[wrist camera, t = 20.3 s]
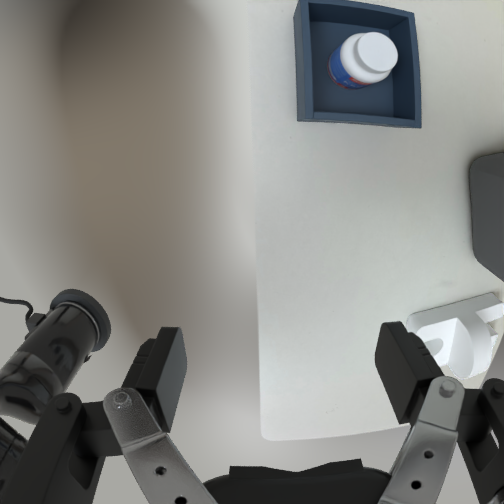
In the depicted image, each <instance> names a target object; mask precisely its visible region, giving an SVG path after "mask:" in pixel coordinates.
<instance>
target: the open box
mask: <svg viewBox="0 0 504 504" xmlns="http://www.w3.org/2000/svg"><path fill="white" fill-rule="evenodd" d="M293 19H294V38H295V60H296V88H297V121H303V122H333V123H350V124H364V125H376V126H387V127H397V128H421V83H420V66H419V53H418V43H417V33H416V25H415V17H414V13H412V12H407V11H404V10H399V9H395V8H390V7H385V6H380V5H374V4H368V3H362V2H356V1H349V0H299V1H298V4H297V7H296V10H295V13H294V17H293ZM369 32H377V33H381V34H383V35H385V36H387V37H388V38H389V39H390V40H391V41H392V42H393V43H394V45H395V47H396V49H397V53H398V59H397V62H396V64H395V66H394V67H393V68H392V69H391V71H390V73H389V75H388V76H387V77H386V78H385V79H383V80H381V81H379V82H377V83H374V84H371V85H368V86H366V87H363V88H360V89H356V90H349V89H345V88H342V87H340V86H338V85H337V84H336V83H335V82H334V81H333V80H332V79H331V78H330V76H329V74H328V70H327V62H328V59H329V57H330V55H331V54H332V53H333V52H334V51H335V50H336V49H337V48H338V47H339V46H340V45H341V44H342V43H343V42H344V41H345V40H346V39H348V38H349V37H350V36H352V35H354V34H358V33H369Z"/></svg>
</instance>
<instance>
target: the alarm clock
mask: <svg viewBox="0 0 504 504" xmlns="http://www.w3.org/2000/svg"><path fill="white" fill-rule="evenodd" d="M469 181H470V191H471V204H472V221H473V250H474V255H475V258H476V259H477V260H478V262H479V263H481V264H482V265H483V266H484V267H485V268H487V269H488V270H489V271H490V272H492V273H493V274H494V275H496V276H497V277H498V278H499V279H501V280H502V281H503V282H504V152H503V153H498V154H493V155H488V156H483V157H480V158H478V159H476V160H474V162H473V164H472V166H471V168H470V175H469Z"/></svg>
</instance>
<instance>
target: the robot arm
mask: <svg viewBox="0 0 504 504" xmlns="http://www.w3.org/2000/svg"><path fill="white" fill-rule="evenodd" d="M0 301H1V302H4V303H9V304H22V305H26V306H27V307H28V308H29V311H28V312H27V314H26V325H27V327H28V330H29V333H28V334H27V335H26V336H25V342H24V343H23V344H22V345H21V346H20V347H19V348H18V349H17V351H16V352H15V353H14V354H13V355H12V357H11V358H10V359H9V360H8V361H7V362H6V364H5V365H4V366H3V367H2V368H1V370H0V415H5V416H10V417H13V418H16V419H19V420H21V421H24V422H27V423H29V424H33V425H36V427H35V429H34V431H33V433H32V435H31V437H30V439H29V441H28V440H27V439H26V438H25V437H24V436H22V435H21V434H20V433H18V432H17V431H16V430H15V429H14V428H12V427H11V426H10V425H9V424H8V423H6V422H5V421H4V420H3V419H2V418H1V417H0V504H92V503H93V499H94V495H95V492H96V488H97V484H98V481H99V478H100V474H101V471H102V468H103V464H104V461H105V458H106V456H118V455H124V457H125V459H126V461H127V463H128V465H129V467H130V469H131V471H132V473H133V475H134V477H135V479H136V481H137V483H138V485H139V486H140V488H141V490H142V492H143V493H144V495H145V497H146V499H147V500H148V502H149V504H435V503H436V501H437V498H438V496H439V493H440V491H441V488H442V485H443V483H444V480H445V477H446V474H447V471H448V468H449V465H450V462H451V459H452V456H453V452H454V449H455V446H456V442H457V443H458V445H459V448H460V450H461V453H462V456H463V458H464V461H465V463H466V466H467V469H468V471H469V474H470V477H471V480H472V482H473V485H474V488H475V491H476V494H477V497H478V500H479V503H480V504H504V381H503V380H500V379H497V378H492V379H489V380H487V381H486V382H485V383H484V384H483V387H482V389H465V388H464V387H463V385H462V384H461V383H460V382H459V381H458V380H457V379H455V378H452V377H449V376H445V375H444V374H443V372H442V370H441V369H440V367H439V366H438V364H437V363H436V361H435V359H434V358H433V356H432V355H430V352H429V350H428V348H426V345H425V344H424V342H423V341H422V339H421V338H420V337H418V336H417V335H416V334H414V333H413V332H408V331H407V330H406V328H405V327H404V325H403V324H402V322H401V321H397V322H385V323H383V324H382V325H381V328H380V333H379V338H378V342H377V347H376V351H375V365H376V368H377V370H378V373H379V375H380V378H381V380H382V382H383V385H384V387H385V390H386V392H387V395H388V397H389V400H390V402H391V405H392V407H393V410H394V412H395V415H396V417H397V420H398V422H399V424H404V423H410V425H411V428H410V430H409V432H408V434H407V437H406V439H405V441H404V443H403V445H402V448H401V450H400V452H399V454H398V456H397V458H396V460H395V462H394V464H393V466H392V468H391V470H390V471H389V473H387V472H384V471H382V470H378V469H374V468H369V467H363V465H362V461H361V459H354V460H347V461H339V462H330V463H327V464H324V465H321V466H318V467H314V468H311V469H307V470H304V471H300V472H292V471H285V470H279V469H273V468H268V467H262V466H259V467H257V466H256V467H255V466H253V467H252V466H250V467H249V466H248V467H247V466H230V471H229V474H228V475H223V476H219V477H216V478H213V479H211V480H208V481H206V482H204V483H201V481H200V480H199V479H198V477H197V476H196V475H195V473H194V472H193V470H192V469H191V468H190V466H189V465H188V464H187V462H186V461H185V459H184V458H183V456H182V455H181V454H180V452H179V451H178V449H177V448H176V446H175V445H174V443H173V442H172V440H171V439H170V437H169V436H168V434H167V433H170V431H171V427H172V423H173V419H174V416H175V412H176V408H177V404H178V400H179V397H180V393H181V389H182V386H183V382H184V378H185V375H186V370H187V357H186V352H185V347H184V340H183V334H182V330H181V328H180V327H161V329H160V331H159V333H158V336H157V338H156V339H151V338H150V339H148V340H147V341H146V342H145V343H144V344H142V345H141V347H140V349H139V351H138V353H137V356H136V357H135V359H134V361H133V364H132V365H131V367H130V369H129V371H128V373H127V376H126V378H125V380H124V382H123V384H122V386H121V388H118V389H115V390H113V391H111V392H110V393H108V394H107V395H106V397H105V398H104V400H103V401H100V402H89V403H82V402H81V400H80V398H79V397H78V396H77V395H75V394H73V393H65V392H66V390H67V388H68V387H69V385H70V384H71V382H72V380H73V379H74V377H75V375H76V374H77V372H78V371H79V369H80V368H81V366H82V365H83V363H85V362H86V361H88V360H89V359H90V357H91V356H89V357H88V355H89V354H90V352H91V351H92V349H93V348H94V346H95V345H96V344H97V343H98V341H99V339H100V336H101V331H100V326H99V323H98V321H97V319H96V318H95V316H94V315H93V314H92V313H91V312H90V310H88V309H87V308H86V307H85V306H83V305H82V304H80V303H78V302H75V301H70V300H67V301H63V302H61V303H59V304H58V305H57V306H56V307H52V309H51V310H50V311H49V312H48V313H47V314H46V315H45V314H39V313H34V314H33V315H32V316H31V314H32V312H33V307H32V305H31V304H30V303H29V302H27V301H24V300H11V299H5V298H1V297H0ZM30 316H31V317H30ZM87 357H88V358H87ZM491 430H493V432H494V434H495V436H496V438H497V440H498V443H499V449H498V447H497V445H496V443H495V441H494V439H493V437H492V435H491Z"/></svg>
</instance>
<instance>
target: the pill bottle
mask: <svg viewBox="0 0 504 504" xmlns="http://www.w3.org/2000/svg"><path fill="white" fill-rule="evenodd" d="M397 59H398V53H397V49H396V47H395V45H394V43H393V42H392V41H391V40H390V39H389V38H388V37H387V36H385V35H383V34H381V33H377V32H369V33H358V34H354V35H352V36H350V37H349V38H348V39H346V40H345V41H344V42H343V43H342V44H341V45H340V46H339V47H338V48H337V49H336V50H335V51H334V52H333V53H332V54H331V55H330V57H329V59H328V62H327V70H328V74H329V76H330V78H331V79H332V80H333V81H334V82H335V83H336V84H337V85H338V86H340V87H342V88H345V89H349V90H356V89H360V88H363V87H366V86H368V85H371V84H374V83H377V82H379V81H381V80H383V79H385V78H386V77H387V76H388V75H389V73H390V71H391V69H392V68H393V67H394V66H395V64H396V62H397Z"/></svg>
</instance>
